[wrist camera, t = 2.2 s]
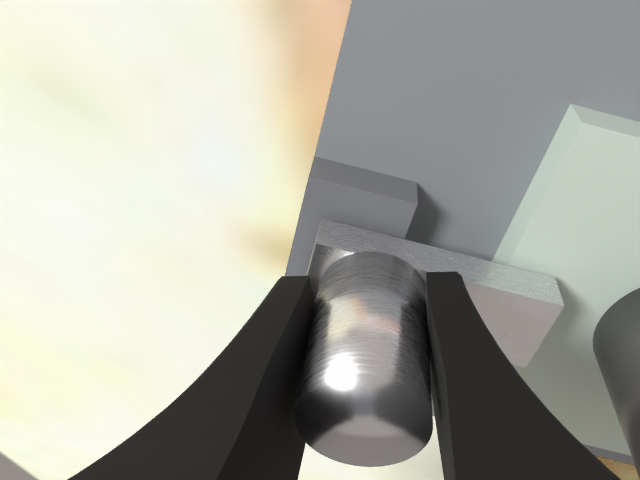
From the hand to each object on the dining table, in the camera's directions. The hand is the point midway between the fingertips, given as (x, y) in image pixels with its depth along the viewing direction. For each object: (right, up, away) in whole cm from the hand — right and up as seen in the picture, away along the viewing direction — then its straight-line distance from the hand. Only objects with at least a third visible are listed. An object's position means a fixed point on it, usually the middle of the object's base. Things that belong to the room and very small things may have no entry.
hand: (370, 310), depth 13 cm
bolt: (+1, +1, +1) cm, 2 cm away
